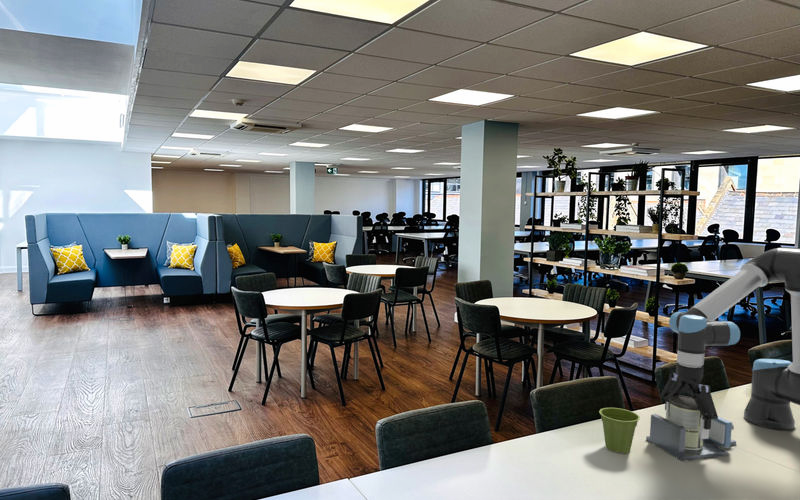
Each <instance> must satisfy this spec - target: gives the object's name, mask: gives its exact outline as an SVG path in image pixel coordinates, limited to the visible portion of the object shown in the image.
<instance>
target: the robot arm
mask: <svg viewBox="0 0 800 500" xmlns="http://www.w3.org/2000/svg"><path fill="white" fill-rule="evenodd" d="M772 282H784V289H785V291H786V292H787V293H789V294H790V305H791V306H790V307H791V310H790V311H791V343H792V345H791V346H792V361H790V360H784V359H778V358H777V359H775V358H759V359H756V360H754V362H753V366H752V369H751V371H752V374H751V388H750V389H751V390H750V398H749V400H748V402H747V405H746V406H745V409H744V411H743V417H744V419H745V420H746V421H748V422H750V423H752V424H754V425H758V426H761V427H764V428H768V429H773V430H779V431H787V430H788V431H790V430H793V429H794V428H795V427H796V426H795V424H796V423H795V422H796V421H795V418H794V415H793V411H792V407H791V403H793V404H796V405H798V406H800V248H788V247H777V248H772V249H769V250H767V251H764V252H762V253H760V254H758V255H756V256H754V257H752V258H751V259H750V260H748V261H747V262H745V263H744V264H742V265H741V266H740V271H738V272H737V273H736V274H735V275H733V276H731V278H729V279H727V280H726V281H725V282H723V283H721V285H720V286H719V287H717V288H716V289H714V290H713V291H712V292H710V293H709V294H708V295H706V296H705V297H703V298H702V299H701V300H699V301H698V302H697V303H696V304H694V305H693V306H692V307H691V308H689V309H688V310H686V311H685V312H683V311H676V312H674V313H672V314H671V315H670V317H669V320H668V326H669V329H671V331H672V332H674V333H676V334H677V339H678V340H677V350H676V351H677V354H676V355H677V356H676V362H677V363H676V367H675V368H676V369H675V372H672V373H671V372H670V373H669V375H668V380H667V381H666V384H665V385H664V387H663V389H662V391H661V392H660V395H659V396H660V397H661V398H663V399H664V410H665V419H667V420H668V418H669V397H671V396H676V395H680V394H681V393H682V392H683V393H686V394H687V395H688V396H690V397H692V398H694V400H695V402H696V404H697V406H698V408H699V410H700V412H701V414H702V416H703V417H702V418H701V420H700V435H699V438H700V439H708V437H709V429H710V428H711V420H712V419H718V416H719V415H718V412H717V410H716V406H715V402H714V399H713V396H712V394H711V385H709V384H707V385H706V384H702V379H704V369H705V368H704V365H705V364H704V363H705V355H706V354H705V352H706V347H707V346H710V347H711V346H712V347H713V346H725V347H726V346H731V345H736V344H737V343H738V342H739V341H740V338H741V330H740V328H739V326H738V325H737V324H735V323H734V322H733V321H727V320H721V321H720V320H719V321H717V318H719V317H721V316H722V315H723V314H724V313H725V312H727V311H728V310H730V309H731V308H733V307H734V306H735V305H737V303H739V302H740V301H741V300H744V298H745V297H746V296H748V295H749V294H750V293H752V292H753V291H754V290H756V289H757V288H762V287H765V286H767V285H768V284H770V283H772ZM706 414H707V415H706ZM712 414H713V415H712Z"/></svg>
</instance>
